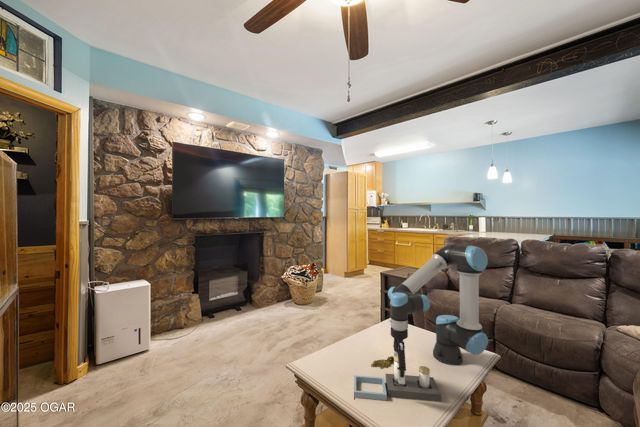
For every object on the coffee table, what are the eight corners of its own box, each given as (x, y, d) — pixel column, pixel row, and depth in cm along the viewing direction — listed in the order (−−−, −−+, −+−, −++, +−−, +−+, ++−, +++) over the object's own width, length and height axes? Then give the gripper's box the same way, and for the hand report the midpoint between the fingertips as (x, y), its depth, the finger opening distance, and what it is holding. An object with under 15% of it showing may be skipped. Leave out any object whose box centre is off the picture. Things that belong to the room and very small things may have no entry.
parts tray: (383, 384, 125) (383, 377, 125) (386, 402, 114) (386, 394, 114) (354, 382, 127) (354, 375, 127) (353, 399, 116) (353, 391, 116)
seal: (376, 376, 134) (400, 369, 140) (376, 367, 134) (400, 361, 139) (366, 364, 143) (389, 358, 149) (366, 356, 142) (389, 350, 148)
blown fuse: (403, 386, 123) (403, 356, 123) (405, 392, 119) (405, 361, 119) (393, 385, 124) (393, 355, 124) (394, 391, 119) (394, 360, 119)
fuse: (428, 388, 122) (428, 366, 122) (431, 395, 117) (430, 372, 117) (417, 387, 122) (417, 365, 122) (420, 394, 118) (420, 371, 118)
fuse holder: (433, 385, 125) (433, 377, 125) (441, 403, 113) (441, 394, 113) (385, 381, 128) (385, 373, 128) (388, 398, 116) (388, 389, 116)
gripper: (387, 316, 134) (387, 358, 134) (394, 339, 109) (394, 391, 109) (402, 317, 133) (402, 359, 133) (413, 341, 108) (413, 393, 108)
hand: (399, 374), depth 121 cm, fingers open, 13 cm apart
